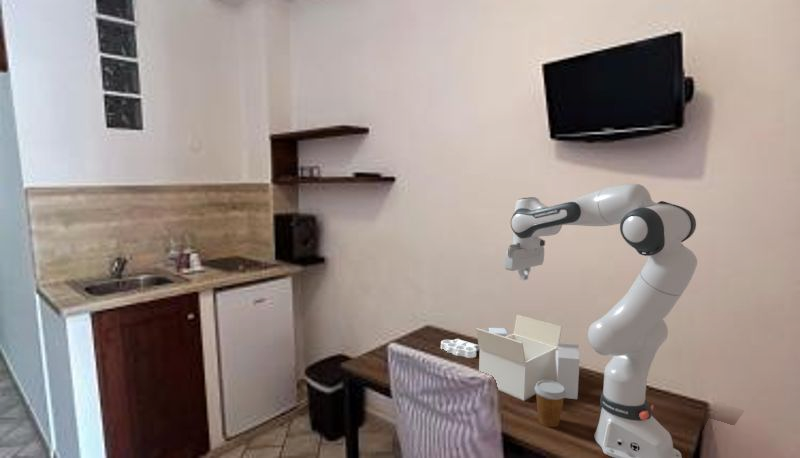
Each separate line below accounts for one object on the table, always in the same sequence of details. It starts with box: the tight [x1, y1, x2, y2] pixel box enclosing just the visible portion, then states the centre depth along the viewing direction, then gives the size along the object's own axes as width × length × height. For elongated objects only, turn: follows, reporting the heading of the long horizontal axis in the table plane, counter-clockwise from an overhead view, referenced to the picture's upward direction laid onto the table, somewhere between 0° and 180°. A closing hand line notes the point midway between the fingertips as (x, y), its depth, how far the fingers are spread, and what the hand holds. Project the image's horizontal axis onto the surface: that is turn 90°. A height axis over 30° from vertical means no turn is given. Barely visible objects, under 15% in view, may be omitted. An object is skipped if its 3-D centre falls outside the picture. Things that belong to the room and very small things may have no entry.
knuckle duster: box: [440, 338, 480, 359], centre depth 203 cm, size 3×18×15 cm
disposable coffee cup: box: [535, 381, 566, 428], centre depth 143 cm, size 10×10×12 cm
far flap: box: [512, 314, 563, 347], centre depth 178 cm, size 20×8×1 cm
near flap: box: [475, 327, 525, 363], centre depth 162 cm, size 20×8×1 cm
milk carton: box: [554, 342, 581, 400], centre depth 162 cm, size 7×7×19 cm
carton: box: [478, 333, 557, 402], centre depth 171 cm, size 20×22×14 cm
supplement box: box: [488, 327, 508, 337], centre depth 194 cm, size 7×7×13 cm
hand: (523, 279), depth 163 cm, fingers closed
